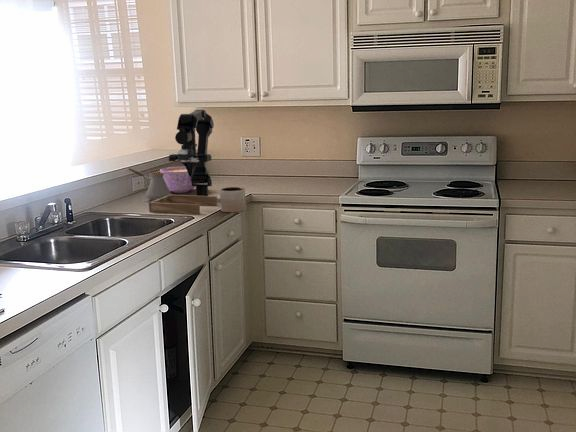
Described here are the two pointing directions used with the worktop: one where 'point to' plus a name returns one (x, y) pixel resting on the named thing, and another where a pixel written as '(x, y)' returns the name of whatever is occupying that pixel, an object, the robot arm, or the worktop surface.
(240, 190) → the planter
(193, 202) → the wooden tray
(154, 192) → the coffee pot
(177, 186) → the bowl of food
